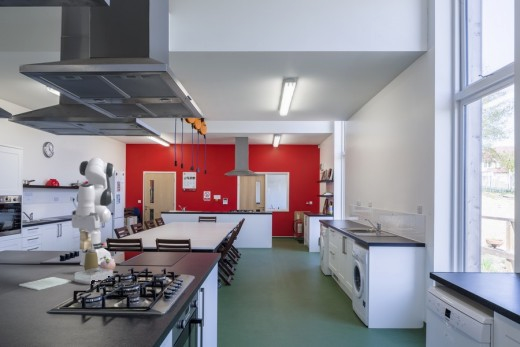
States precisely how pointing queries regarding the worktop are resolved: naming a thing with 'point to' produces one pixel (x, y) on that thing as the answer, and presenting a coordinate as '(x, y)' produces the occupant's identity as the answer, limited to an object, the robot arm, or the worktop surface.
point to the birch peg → (85, 241)
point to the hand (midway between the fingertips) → (85, 236)
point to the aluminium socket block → (92, 275)
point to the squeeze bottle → (91, 259)
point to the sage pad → (45, 283)
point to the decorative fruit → (107, 264)
